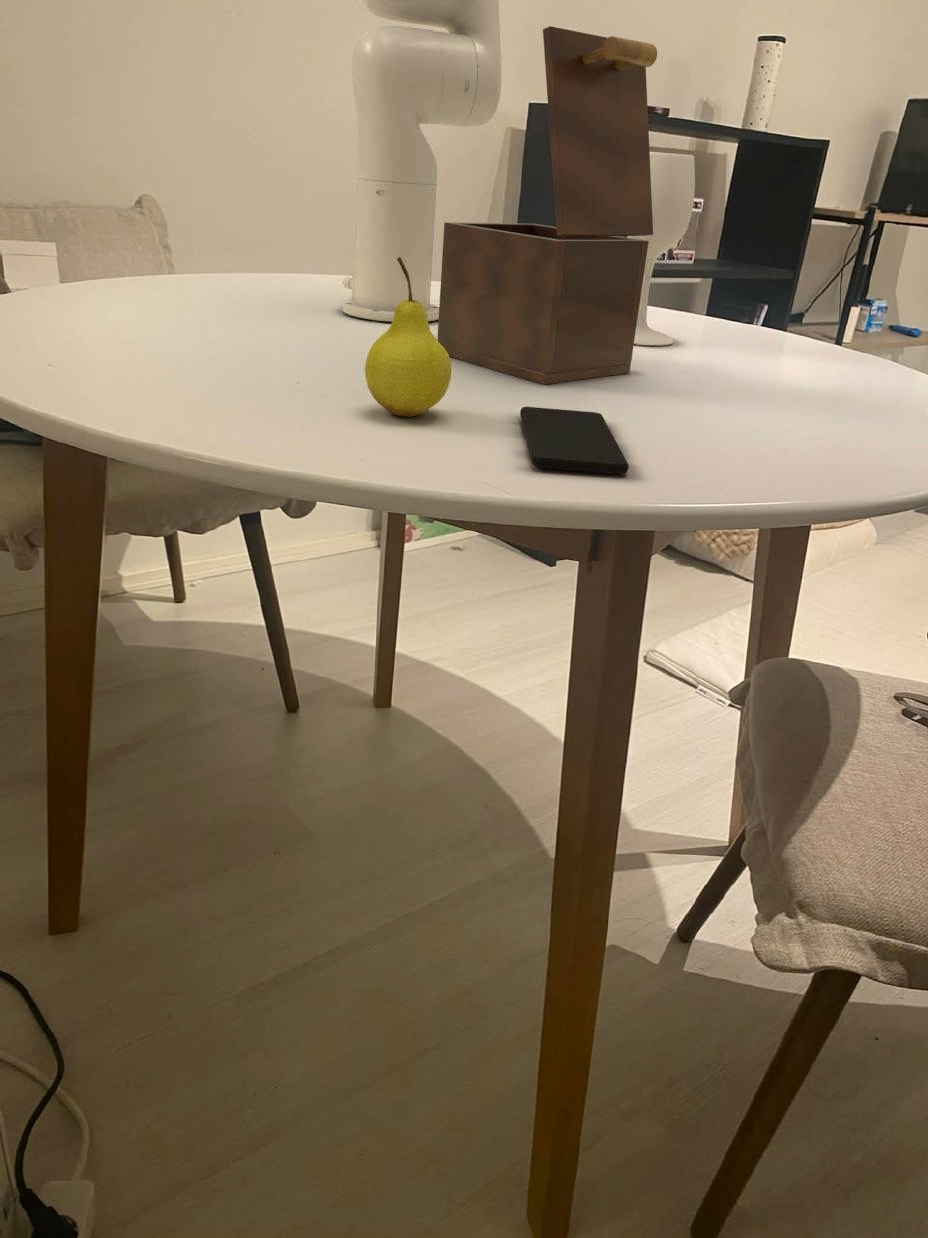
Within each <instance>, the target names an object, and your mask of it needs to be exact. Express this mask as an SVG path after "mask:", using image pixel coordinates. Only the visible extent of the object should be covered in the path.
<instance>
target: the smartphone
mask: <svg viewBox="0 0 928 1238" xmlns="http://www.w3.org/2000/svg"><path fill="white" fill-rule="evenodd" d="M519 415H520V419H521V422H522V427H523V428H522V429H523V432H524V436H525V441H526V444H527V449H528V453H529V457H530V462H531V464H532V466H534V467H535V468H539V469H548V470H549V469H550V470H551V469H552V470H563V471H564V470H565V471H573V472H574V471H575V472H585V473H586V472H587V473H599V474H600V473H601V474H612V475H613V474H614V475H624V474H626V473H628V471H629V468H630V466H629V463H628V460H627V459H626V457H625V455H624V453H623V452H622V449H621V447H620V446H619V444H618V442H617V440H616V438H615V437H614V434H613V432H612V431H611V429H610V427H609V425H608V423H607V421H606V420H605V418H604V416H603V415H602V413H600V412H595V411H585V410H584V411H583V410H572V409H561V408H549V407H548V408H547V407H538V406H537V407H536V406H522V407H521V409H520V412H519Z"/></svg>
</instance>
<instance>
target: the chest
mask: <svg viewBox="0 0 928 1238" xmlns="http://www.w3.org/2000/svg"><path fill="white" fill-rule="evenodd" d="M442 238H443V239H442V255H441V271H440V272H441V273H440V286H439V287H440V289H439V303H438V304H439V305H438V307H439V319H438V322H437V338H436V339H437V340H438V342H439V343H440V344H441V345H442V346H443V347H444V348H445V350H446V351H447V353H448V354H449V357H450V358H453V359H456V360H460V361H463V362H466V363H470V364H474V365H476V366H479V367H483V368H487V369H490V370H493V371H496V372H500V373H503V374H507V375H511V376H514V377H517V378H521V379H524V380H526V381H527V380H528V381H530V382H535V383H537V384H541V385H550V384H551V385H552V384H558V383H565V382H573V381H574V382H575V381H580V380H588V379H594V378H595V379H596V378H603V377H610V376H617V375H618V376H619V375H625V374H630V372H631V364H632V358H633V352H634V346H635V344H634V339H635V332H636V325H637V318H638V312H639V305H640V298H641V291H642V284H643V277H644V270H645V264H646V257H647V250H648V243H649V241H646V240H640V239H633V238H627V236H557V228H556V226H553V225H546V224H540V223H539V224H538V223H521V222H519V223H517V222H516V223H513V222H511V223H510V222H509V223H507V222H447V221H446V222H444V224H443V237H442Z"/></svg>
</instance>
